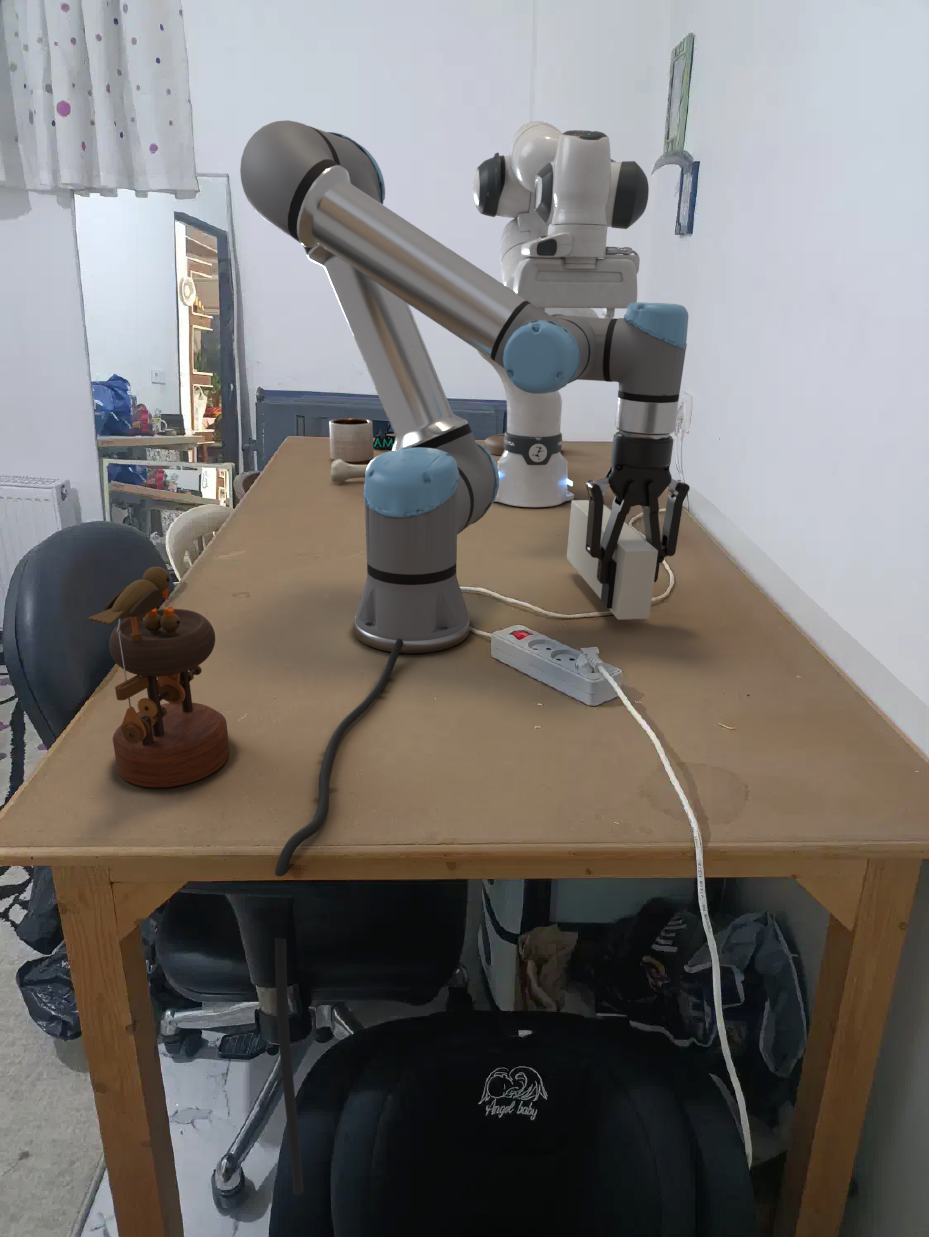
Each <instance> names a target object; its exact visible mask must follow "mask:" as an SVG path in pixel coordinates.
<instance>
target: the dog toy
mask: <svg viewBox="0 0 929 1237" xmlns="http://www.w3.org/2000/svg"><path fill="white" fill-rule="evenodd" d="M367 466H368V464H354V463H346V462H344V461H343V460H341V459H338V460H335V461H334V460H332V463H331V465H330V474H329V476H330V480H331V481H332V482H334V483H342V482H346V481H347V480H351V479H352V480H353V479H360V478H365V471H366V468H367Z"/></svg>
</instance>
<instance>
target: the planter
mask: <svg viewBox="0 0 929 1237" xmlns="http://www.w3.org/2000/svg"><path fill="white" fill-rule="evenodd" d="M328 424H329V425H328V426H329V453H330V454H329V455H330V456H329V457H330V459H331V460H332V461H335V460H338V459H341V460H343V461H344V462H346V463H348V464H363V463H367V462H371V461H372V460H373V459H374V458H375V457H374V456H375V455H374V452H375V451H374V450H375V449H374V448H373V442H374V430H373V429H374V428H373V420H371V419H369V418H362V417H361V418H360V417H342V418H341V417H340V418H335V419H334V418H333V419H331V420H329V421H328Z"/></svg>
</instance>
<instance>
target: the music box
mask: <svg viewBox="0 0 929 1237" xmlns="http://www.w3.org/2000/svg"><path fill="white" fill-rule="evenodd" d="M170 584H171V577H170V573H169V572H168V571H167V570H166V569H165V568H163V567H162V566H161V567H160V566H152V567H149V568H148V569H147V570H145V571H144V573H143V575H142V579H137V580H134V581H133V582H132V583H128V584H127V585H125V586H124V587H123V588H121V589H120V590H119V591H118V592H117V593H116V594H114V595H113V596H112V598H110V599H109V601H108V602H107V603H106V605H105V606H104V611H100V612H99V613H96V614H94V615H91V616H89V617H88V620H89V621H90V622H94V623H98V624H102V625H106V626H111V625H113V624H114V623H115V622H116V621H118V624H116V626H115V627H114V628H113V630H112V632H111V633H110V637H109V640H108V641H109V642H108V650H109V654H110V657H111V658H112V660H113V661H114V662H115V663H116V665H117V666H118V667H119V668H120V669H122V670H123V672H124V680H125V681H123V682H121V683H119V684H117V685H116V686H115V687H114V690H115V697H116V700H117V701H126V700H128V705H129V706H128V707H127V709H126V711H125V714H124V717H123V720H122V723H121V724H119V726H118V727H117V728H116V730H115V731H114V733H113V736H112V744H113V750H114V757H115V763H116V769H117V773H118V774H119V775H120V777H121V778H123V779H124V780H125V781H126V782H128V783H130V784H132V785H136V786H139V787H146V788H171V787H178V786H183V785H187V784H190V783H194V782H197V781H200V780H202V779H204V778H206V777H208V776H210V775H212V774H213V773H215V772H216V771H219V769H220V768H221V767H222V766H223V765H224V764H225V763H226V762H227V760H228V758H229V756H230V742H229V732H228V723H227V719H226V717H225V716H224V715H223V714H222V713H221V712H220V711H219V710H216V709H215V708H213V707H211V706H209V705H206V704H203V703H200V702H199V703H198V702H193V700H192V690H191V682H192V681H193V679H194V678H195V677H194V676H199V675H200V674H201V673H202V670H203V669H202V667H201V666H200V665H201V664H203V663H204V662H205V661H206V660H207V659H208V658H209V657H210V655H211V654H212V652H213V650H214V648H215V645H216V633H215V629H214V627H213V625H212V624H211V622H210V621H209V619H207V617H205V616H204V615H202V614H201V613H199V612H196V611H194V610H190V609H189V610H188V609H183V608H174V607H173V606H168V607H167V608H161V609H157V608H158V606H160V605H161V604H162V602H163V599H165V600H167V601H169V599H170V597H169V591H168V588H169V586H170ZM121 619H122V621H121ZM127 672H128V673H131V674H133V675H134V676H133V677H131V678H129V679H128V678H127ZM144 690H146V692H147V693H146V694H147V697H142V698H141V699H139V700H138V701H137V704H136V705H137V706H136V707H137V710H138V711H136V709H135V708H134V707H133V706H132V705H131V704H132V703H131V697H133V696H135V695H137V694H139V693H140V692H142V691H144ZM162 701H166V702H167V703H162V704H161V702H162Z"/></svg>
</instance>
